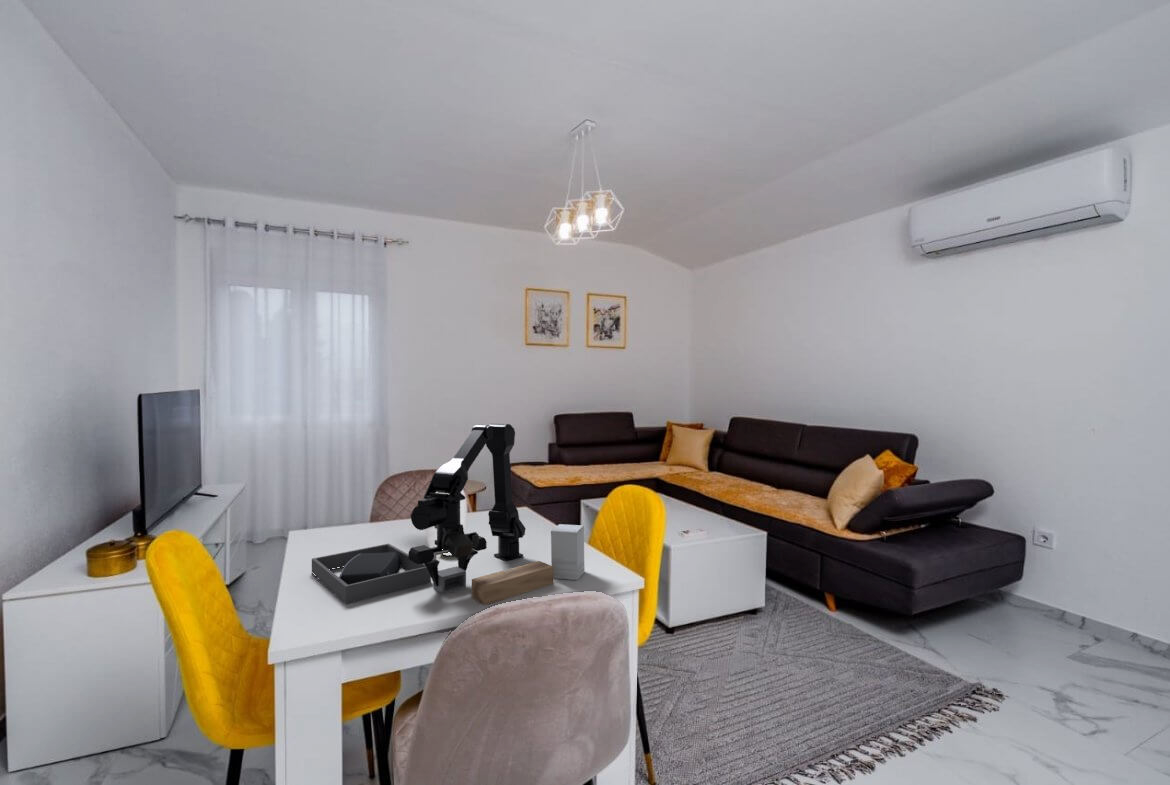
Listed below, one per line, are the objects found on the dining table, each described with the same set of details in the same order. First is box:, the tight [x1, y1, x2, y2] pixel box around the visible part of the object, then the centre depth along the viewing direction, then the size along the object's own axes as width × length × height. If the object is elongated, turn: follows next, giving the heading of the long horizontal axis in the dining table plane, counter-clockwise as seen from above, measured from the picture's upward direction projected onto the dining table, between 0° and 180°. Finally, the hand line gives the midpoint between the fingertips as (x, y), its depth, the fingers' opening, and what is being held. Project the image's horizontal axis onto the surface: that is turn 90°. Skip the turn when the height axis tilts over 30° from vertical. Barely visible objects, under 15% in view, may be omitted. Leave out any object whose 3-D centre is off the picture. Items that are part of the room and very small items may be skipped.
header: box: [471, 560, 554, 606], centre depth 132 cm, size 11×20×4 cm, turn 132°
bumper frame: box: [311, 543, 432, 605], centre depth 140 cm, size 28×21×4 cm
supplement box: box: [550, 523, 586, 581], centre depth 141 cm, size 7×7×13 cm
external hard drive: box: [338, 552, 400, 585], centre depth 140 cm, size 13×19×4 cm
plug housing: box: [432, 565, 467, 595], centre depth 132 cm, size 5×6×4 cm
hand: (449, 582), depth 132 cm, fingers closed on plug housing, 6 cm apart
